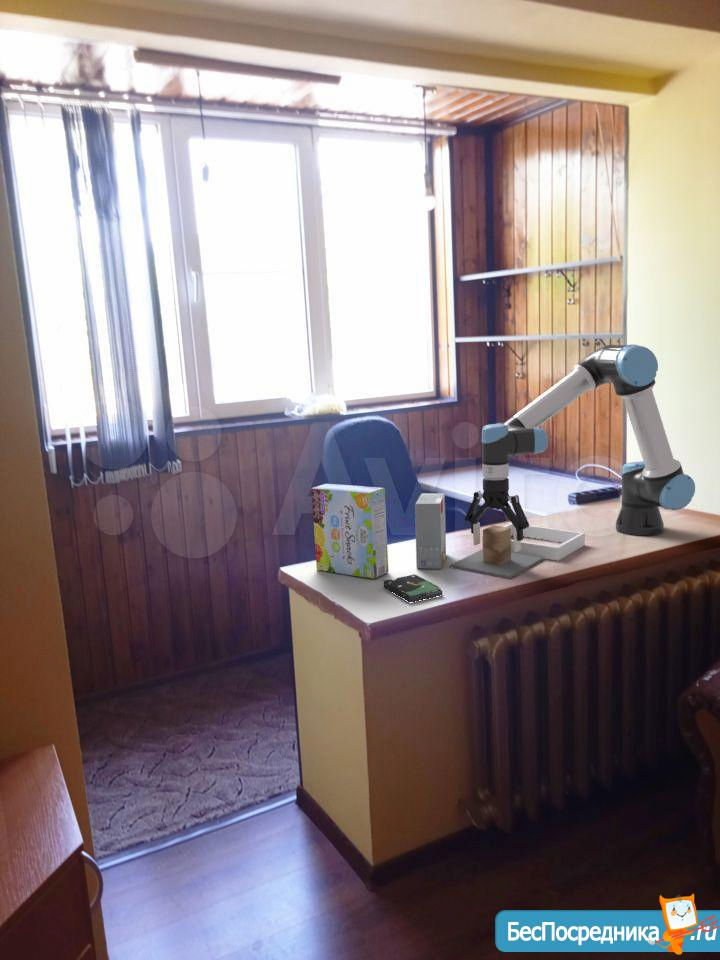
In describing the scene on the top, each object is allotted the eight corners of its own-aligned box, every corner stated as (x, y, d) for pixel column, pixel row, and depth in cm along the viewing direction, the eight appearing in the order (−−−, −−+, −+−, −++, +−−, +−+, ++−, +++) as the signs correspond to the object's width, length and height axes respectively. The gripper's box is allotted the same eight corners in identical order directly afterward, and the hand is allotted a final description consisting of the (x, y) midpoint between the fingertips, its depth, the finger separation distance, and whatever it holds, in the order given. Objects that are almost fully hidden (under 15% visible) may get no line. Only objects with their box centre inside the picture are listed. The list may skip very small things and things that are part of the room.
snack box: (390, 572, 225) (386, 487, 220) (374, 581, 218) (370, 493, 212) (331, 562, 237) (326, 481, 232) (314, 570, 230) (309, 487, 225)
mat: (543, 560, 228) (543, 557, 228) (510, 578, 213) (510, 576, 213) (485, 550, 241) (485, 547, 241) (450, 567, 226) (450, 564, 226)
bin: (584, 545, 241) (584, 532, 240) (557, 560, 227) (557, 548, 226) (511, 534, 257) (511, 522, 257) (482, 548, 243) (481, 536, 242)
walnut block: (511, 560, 227) (510, 527, 225) (501, 565, 223) (500, 532, 221) (493, 557, 231) (493, 525, 229) (483, 562, 226) (482, 529, 224)
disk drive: (383, 590, 211) (410, 605, 198) (382, 580, 211) (409, 595, 198) (415, 583, 216) (443, 597, 203) (414, 573, 215) (443, 587, 202)
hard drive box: (442, 569, 224) (439, 504, 220) (416, 569, 226) (413, 504, 222) (446, 554, 239) (444, 492, 235) (422, 553, 241) (420, 492, 237)
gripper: (452, 476, 227) (454, 544, 231) (528, 483, 211) (528, 557, 215) (465, 471, 233) (467, 538, 237) (540, 478, 217) (541, 550, 221)
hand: (496, 547), depth 226 cm, fingers open, 13 cm apart
